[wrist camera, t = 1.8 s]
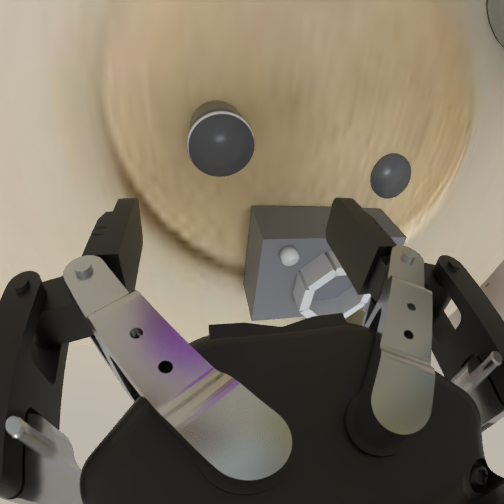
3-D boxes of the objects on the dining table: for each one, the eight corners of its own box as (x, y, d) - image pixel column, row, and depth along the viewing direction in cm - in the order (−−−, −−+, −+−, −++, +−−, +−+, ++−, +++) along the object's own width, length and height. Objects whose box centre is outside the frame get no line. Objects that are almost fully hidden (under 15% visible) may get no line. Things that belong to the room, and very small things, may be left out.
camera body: (380, 208, 33) (418, 251, 27) (355, 276, 40) (381, 321, 33) (251, 205, 30) (269, 257, 24) (243, 283, 37) (255, 338, 30)
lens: (243, 100, 24) (258, 115, 18) (239, 148, 26) (252, 178, 21) (190, 99, 23) (187, 113, 17) (189, 148, 25) (187, 178, 20)
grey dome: (412, 156, 30) (416, 158, 29) (399, 196, 33) (403, 199, 33) (375, 149, 29) (379, 151, 28) (364, 193, 32) (367, 197, 32)
